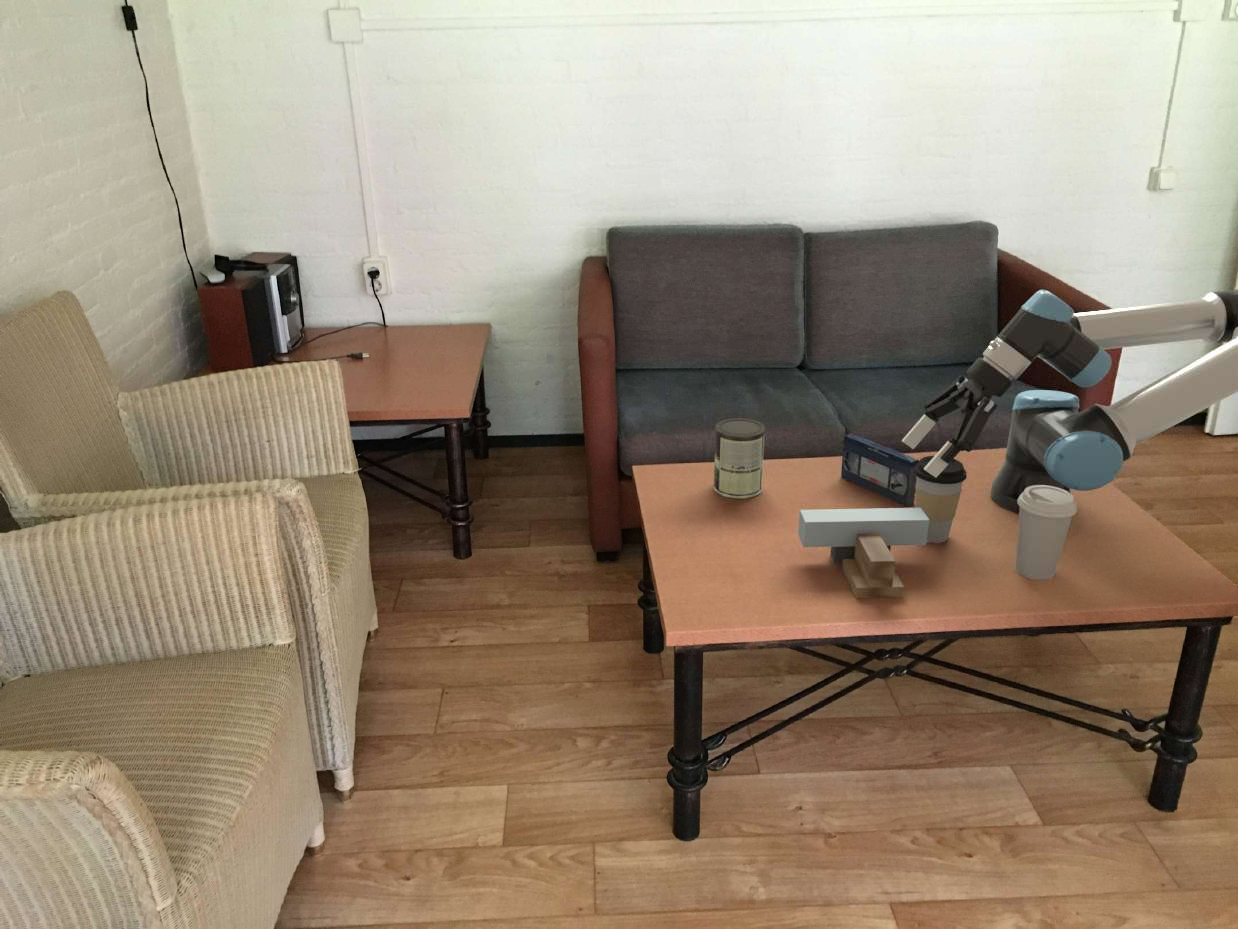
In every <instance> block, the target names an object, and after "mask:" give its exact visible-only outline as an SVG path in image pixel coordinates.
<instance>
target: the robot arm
mask: <svg viewBox="0 0 1238 929" xmlns="http://www.w3.org/2000/svg"><path fill="white" fill-rule="evenodd" d="M1194 340H1196V341H1197V340H1203V341H1204V342H1205V343H1207V344H1217V343H1223V344H1222V345H1219V346H1218V347H1216V348H1214V349H1212V350H1211V351H1208V352H1207V353H1204V354H1203V355H1202V356H1199V357H1197V358H1195V359H1193V360H1192V361H1190V362H1188V363H1187V364H1185V365H1183V366H1181V367H1179V368H1177V369H1175V370H1173V371H1172V372H1170V373H1168V374H1166V375H1164V376H1162V377H1160V378H1159V379H1158V378H1157V380H1155V381H1153V382H1151V383H1149V384H1147V385H1146V386H1144V387H1142V388H1140V389H1138V390H1136V391H1134V392H1132V393H1131V394H1129V395H1127V396H1125V397H1123V398H1122V399H1120V400H1118V401H1116V402H1114V403H1113V404H1112V403H1111V404H1110V405H1104V404H1103V405H1102V404H1098V403H1095V404H1093V405H1091V406H1089V407H1087V408H1086V409H1084V410H1082V411H1080V412H1078V410H1079V408H1080V407H1081V406H1080V398H1079V397H1078V396H1077V395H1075V394H1072V393H1069V392H1066V391H1059V390H1050V389H1049V390H1047V389H1034V390H1033V389H1031V390H1024V391H1021V392H1019V393H1018V394H1017V395H1016V396H1015V398H1014V403H1013V407H1012V408H1011V409H1012V410H1011V411H1012V412H1011V420H1010V426H1009V431H1008V439H1007V445H1006V450H1005V451H1006V453H1005V458H1004V461H1003V463H1002V465H1001V467H1000V469H999V470H998V472H997V474H996V476H995V477H994V480H992V484H991V488H990V497H991V499H992V500H993V502H994V503H996V504H997V505H998V506H1001V507H1003V508H1004V509H1008V510H1010V511H1013V512H1016V513H1019V509H1020V506H1019V505H1018V503H1017V500H1018V498H1019V496H1020V495H1021V494H1022V493H1023V492H1024V490H1025V489H1026V488H1027V487H1030V486H1034V485H1047V486H1053V487H1058V488H1061V489H1063V490H1066V491H1068V492H1069V493H1071V490H1075V491H1079V492H1081V491H1082V492H1085V491H1086V492H1088V491H1094V490H1097V489H1101V488H1102V487H1104V486H1107V485H1108V484H1110V483H1111V482H1112V481H1113V480H1114V479H1116V477H1117V476H1118V471H1120V470H1121V469H1122V467H1123V464H1124V462H1126V461H1128V460H1129V459H1130V458H1132V456H1133V453H1134V449H1135V447H1136V446H1138V445H1139V444H1141V443H1144V442H1145V441H1147V440H1149V439H1151V438H1153V437H1154V436H1157V435H1158V434H1160V433H1162V432H1165V431H1166V430H1168V429H1170V428H1172V427H1173V426H1175V425H1178V424H1179V423H1181V422H1184V421H1185V420H1187V419H1189V418H1191V417H1192V416H1194V415H1197V414H1198V413H1201V412H1202V411H1203V410H1205V409H1207V408H1210V407H1212V406H1213V405H1216V404H1217V403H1219V402H1221V401H1223V400H1225V399H1226V398H1228V397H1230V396H1233V395H1234V394H1236V393H1238V288H1237V289H1229V290H1219V291H1213V292H1205V293H1204V294H1202V296H1201V297H1199V299H1198V298H1197V299H1190V300H1189V299H1188V300H1181V301H1172V302H1165V303H1164V302H1163V303H1157V304H1156V303H1155V304H1148V305H1145V304H1144V305H1138V306H1129V307H1121V308H1111V309H1103V310H1097V311H1096V310H1095V311H1094V310H1093V311H1087V312H1077V313H1075V311H1074V309H1073V308H1072V307H1071V306H1070V305H1069V304H1067V303H1066V302H1065V301H1064V300H1062V298H1059V297H1058V296H1057V295H1055V294H1054V293H1052V292H1051V291H1048V290H1046V289H1040V290H1038V291H1036V292H1034V294H1033V295H1032V296H1031V297H1030V298H1029V299H1028V300H1027V301H1026V302H1025V303H1024V304H1022V306H1021V307H1020V309H1019V310H1018V311H1017V313H1016V314H1015V315H1014V316H1013V317H1012V318H1011V319H1010V321H1009V322H1008V323H1007V324H1006V326H1005V327H1004V328H1003V329H1002V330H1001V331H1000V333H999V334H998V335H997V336H996V337H995V338H994V340H991V341H990V342H989V344H988V346H987V347H986V349H985V350H984V351H983V353H982V355H983V357H978V358H976V360H975V361H974V362H973V363H972V364H971V365H970V367H969V368H968V369H967V371H966V373H967V375H968V376H969V379H968V378H966V376H964V375H962V374H961V375H959V376H957V378H956V379H955V380H954V381H953V382H952V383H951V384H949V385H948V386H947V387H946V388H944V389H943V390H942V391H940V392H939V393H938V394H936V395H935V396H933V397H932V398H931V399H930V400H928V401H926V402H925V403H924V404H923V407H922V408H923V409H925V410H924V412H923V415H922V416H921V418H920V419H919V420H918V421H917V422H916V423H915V424H914V426H913V427H912V428H911V429H910V430H909V431H908V432H907V434H906V435H904V437H903V438H902V440H901V442H902V443H904V444H905V445H906V446H908V447H909V448H911V449H912V450H915V448H916V447H918V446H917V445H919V444H920V443H921V441H922V440H923V439H924V438H925V436H926V435H927V434H928V433H929V432H930V431H931V430H932V429H933V427H934V426H935V425H936V423H939V420H940V418H942V417H944V416H946V415H948V414H950V413H952V412H954V411H956V410H959V409H960V413H961V414H960V417H959V419H958V423H957V426H956V428H955V430H954V433H953V437H952V438H948V440H947V441H946V442H945V444H944V445H943V446H942V447H941V448H940V449H939V451H937V453H936V454H935V455H933V456H934V457H933V458H932V460H931V461H930V462H929V463H928V464H927V465H926V466H925V467H924V470H925V471H927V472H928V473H930V474H931V475H933V476H934V477H937V476H938V475H939V474H940V473H941V472H942V471H943V470H944V469H945V467H946V466H947V465H948V464H949V463H950V462H951V461H952V460H953V459H955V458H956V456H957V455H958V454H959V453H960V452H961V451H962V452H964V451H966V452H967V453H970V452H971V451H972V450H973V449H974V446H975V445H976V443H977V441H978V439H979V437H980V435H981V434H982V432H983V429H984V428H985V425H986V424H987V422H988V420H989V418H990V417H991V415H992V414H993V413H994V411H995V410H996V409H997V408H998V404H997V403H995V402H994V401H993V400H991V399H992V397H993V396H995V397H997V398H1001V397H1002V396H1003V395H1004V394H1005V393H1006V392H1007V391H1008V390H1009V388H1011V386H1012V385H1013V380H1014V379H1015V380H1018V378H1020V376H1021V375H1022V374H1023V373H1024V372H1025V370H1026V369H1027V368H1028V367H1029V366H1030V365H1031V364H1032V363H1033V362H1034V361H1035V359H1036V358H1039V359H1040V360H1042V361H1043V362H1044V363H1046V364H1047V365H1049V366H1050V367H1052V369H1054V370H1056V371H1057V372H1059V373H1060V374H1061V375H1063V376H1064V377H1065V378H1067V380H1068V381H1069V382H1073V383H1074V384H1075V385H1076V386H1078V387H1081V388H1089V387H1093V386H1095V385H1096V384H1098V383H1099V382H1101V381H1102V380H1103V378H1105V376H1107V375H1108V373H1109V371H1110V369H1111V367H1112V357H1111V356H1110V354H1109V353H1108V352H1106V351H1105V350H1111V349H1122V348H1132V347H1142V346H1149V345H1150V346H1151V345H1158V344H1159V345H1160V344H1167V343H1168V344H1169V343H1175V342H1176V343H1177V342H1185V341H1186V342H1187V341H1194ZM1071 494H1072V493H1071Z"/></svg>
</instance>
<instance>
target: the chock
mask: <svg viewBox="0 0 1238 929" xmlns="http://www.w3.org/2000/svg"><path fill="white" fill-rule="evenodd" d="M891 547H892V546H887V548H888V549H889V551H890V552H891ZM829 556H830V558H831V560H832V563H833V564H839V565H840V564H841V565H842V564H843V559H854V556H855V546H847V547H830V553H829Z"/></svg>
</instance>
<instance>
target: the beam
mask: <svg viewBox="0 0 1238 929" xmlns="http://www.w3.org/2000/svg"><path fill="white" fill-rule="evenodd" d="M928 527H929V519H928V517H927V516H926V514H925V513H924V512H923V510H922V509H921V508H915V507H887V508H886V507H881V508H879V507H878V508H877V507H876V508H873V507H871V508H837V509H836V508H835V509H834V508H833V509H832V508H831V509H830V508H826V509H818V508H817V509H799V518H798V529H797V530H798V532H797V535H798V538H799V539H800V542H801V545H802V547H803V548H831V547H847V546H856V535H857V534H880V536H881V538H882V539H883V541H884V543H885V544H886V546H891V547H893V546H927V543H928V542H927V534H928Z"/></svg>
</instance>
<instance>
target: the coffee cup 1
mask: <svg viewBox="0 0 1238 929" xmlns="http://www.w3.org/2000/svg"><path fill="white" fill-rule="evenodd" d="M934 456H935V455H929V456H927V455H926V456H923V457H921V458H920V459H919V463H918V464H916V465H915V469H914V474H915V475H916V476H917V481H916V492H915V501H914V504H915V507H914V508H921V509H922V510H923V512H924V513H925V514H926V516H927V517H928V519H929V527H928V534H927V542H926V543H931V544H939V543H943V542H945V541H947V540H948V539H949V536H950V532H951V528H952V524H953V520H954V518H955V517H956V513H957V512H956V511H957V509H958V504H959V500H960V498H961V494H962V486H963V482H964V481H965V480H967V471H966V469H965V468H964V464H963V463H962V462H961V461H960V460H958V459H955V458H954V459H953V460H952V461H951V462H950V463H949V464H948V465H947V466H946V467H945V469H944V470H943V471H942V472H941V473H940V474H939V475H938V476H937V477H934V476H933V475H931V474H930V473H928V472H927V471H925V470H924V467H925V466H926V465H927V464H928V463H929V462H930V461H931V460H932V458H933V457H934Z"/></svg>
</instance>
